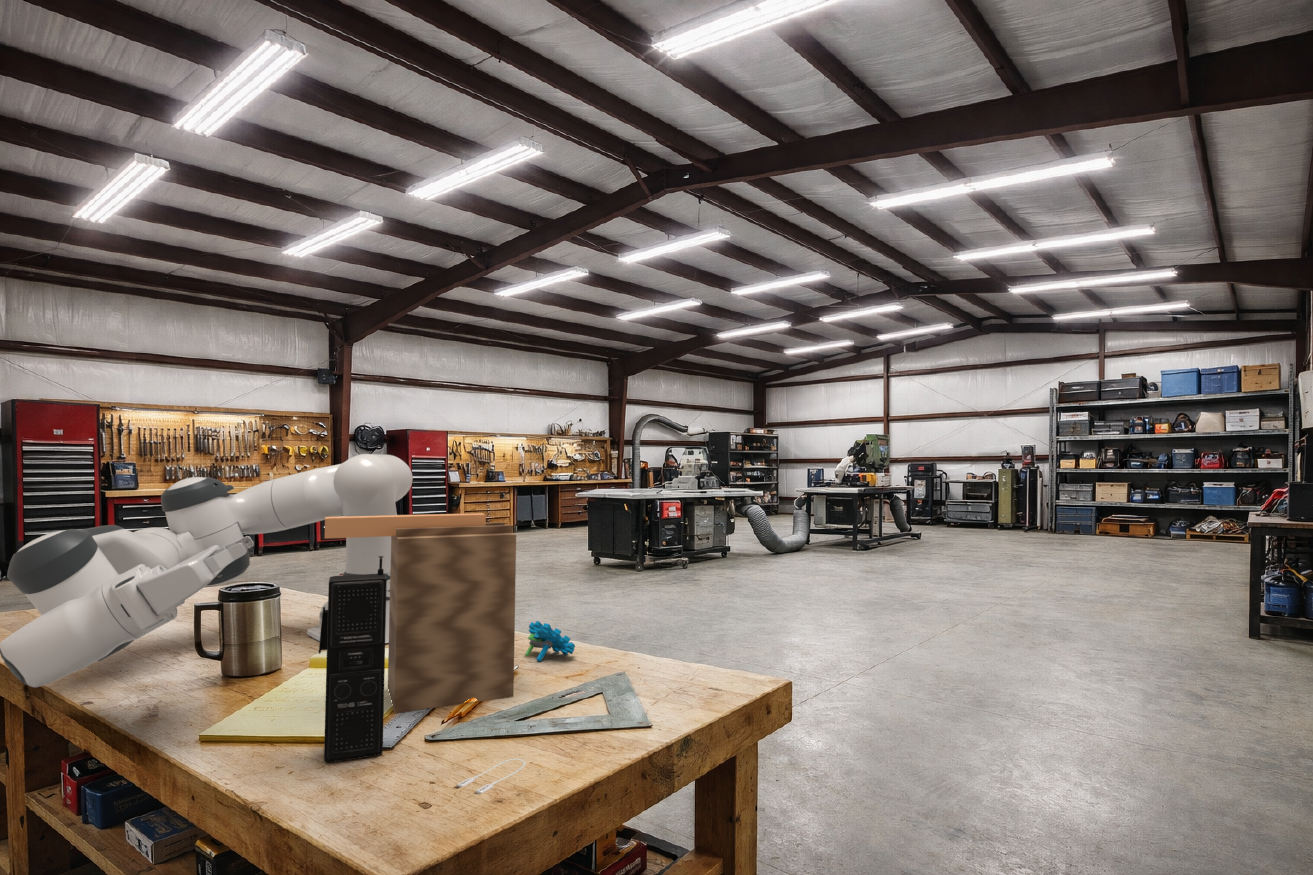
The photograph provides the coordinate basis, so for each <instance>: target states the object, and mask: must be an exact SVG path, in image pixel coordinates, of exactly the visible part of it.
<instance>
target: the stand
mask: <svg viewBox="0 0 1313 875" xmlns="http://www.w3.org/2000/svg"><path fill="white" fill-rule="evenodd" d="M516 560H517V534H516V533H513V525H511V524H505V522H501V521H500V522H486V526H464V527H432V528H400V529H396V536H391V570H390V612H389V643H388V654H387V656H388V659H387V660H388V663H387V665H388V666H387V667H388V668H387V690H388V689H389V692H388V694H389V693H390V696H391V699H390V701H391V700H392V703H391V705H392V704H393V707H392V710H393V713H394V714H399V713H407V712H414V711H420V710H421V709H422V710H426V709H425V708H429V709H435V708H442V707H449V706H456V705H462V703H464V702H465V701H467V700H468V699H471V698H473V697H474V698H476V699H477V700H478V702H477V703H479V702H485V701H491V700H493V701H494V700H500V699H506V698H514V691H515V688H514V685H515V683H514V681H515V637H516V636H515V634H516V632H515V631H516V630H515V629H516V627H515V625H516V624H515V622H516V618H515V617H516V576H517V575H516V574H517V572H516V571H517V569H516V568H517V565H516V564H517V562H516ZM390 696H389V697H390ZM422 710H421V711H422Z"/></svg>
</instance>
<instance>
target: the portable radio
mask: <svg viewBox="0 0 1313 875" xmlns="http://www.w3.org/2000/svg"><path fill="white" fill-rule="evenodd" d="M383 557H384V556H379V558H380V564H379V569H378V574H362V575H333V576H330V577H329V579H328V595H327V596H328V597H327V598H328V599H327V602H328V610H325V607H323V613H322V623H321V633H320V641H319V643H318V644H319V646H318V654H321V653H322V651H326V667H325V669H326V670H325V672H326V673H325V674H326V676H325V708H324V709H325V710H324V714H325V715H324V739H323V740H324V743H323V744H324V745H323V759H324V762H325V763H327V764H329V763H335V762H341V761H348V760H354V759H360V758H368V757H373V756H380V755H382V754H383V750H384V718H385V717H384V712H385V708H384V707H385V667H386V665H385V664H386V660H385V659H386V643H385V630H386V588H387V579H386V574H383V573H384V569H382V558H383Z"/></svg>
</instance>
